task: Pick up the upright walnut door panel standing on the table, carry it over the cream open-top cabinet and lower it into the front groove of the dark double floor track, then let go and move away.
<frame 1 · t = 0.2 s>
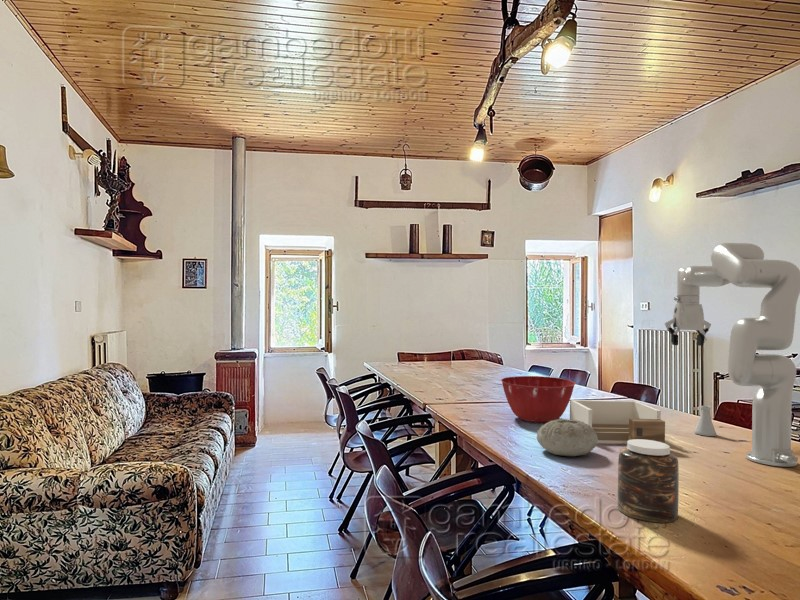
hand: (687, 345, 204), 31 cm above the table, tool pointing down, fingers open, 9 cm apart
door: (646, 448, 171), on the table
decorative shell: (566, 453, 164), on the table
mixing bowl: (536, 420, 212), on the table
cabinet: (612, 436, 185), on the table
jar: (647, 513, 117), on the table
flask: (705, 435, 192), on the table
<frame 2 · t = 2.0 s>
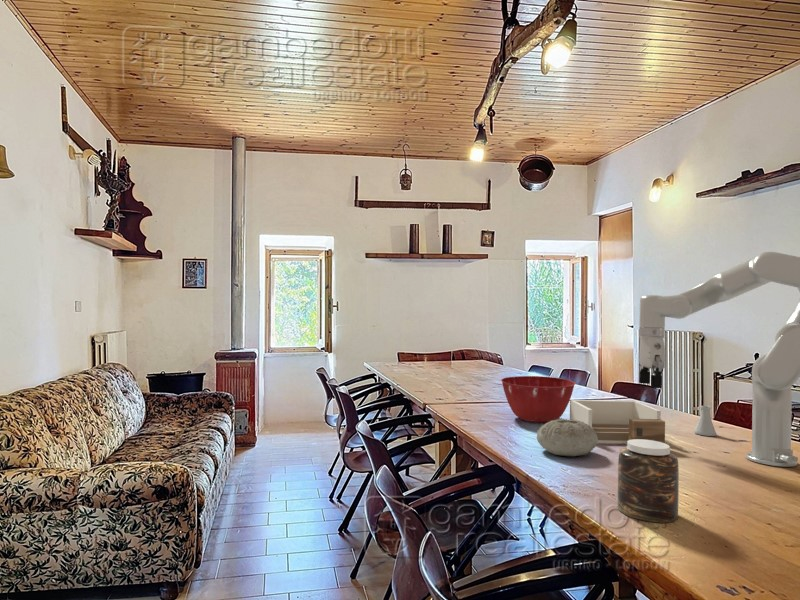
hand: (650, 385, 174), 20 cm above the table, tool pointing down, fingers open, 9 cm apart
nothing on the table moved.
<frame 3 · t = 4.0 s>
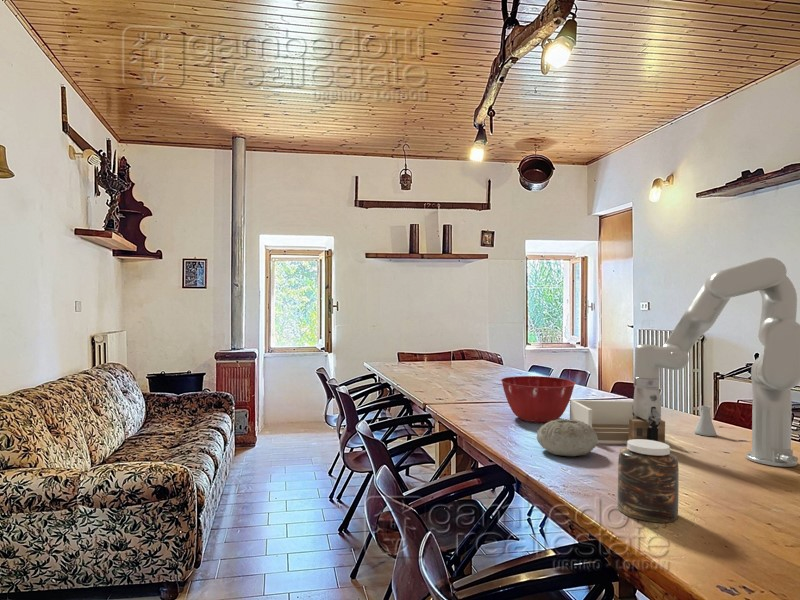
hand: (645, 436, 172), 3 cm above the table, tool pointing down, fingers open, 8 cm apart
nothing on the table moved.
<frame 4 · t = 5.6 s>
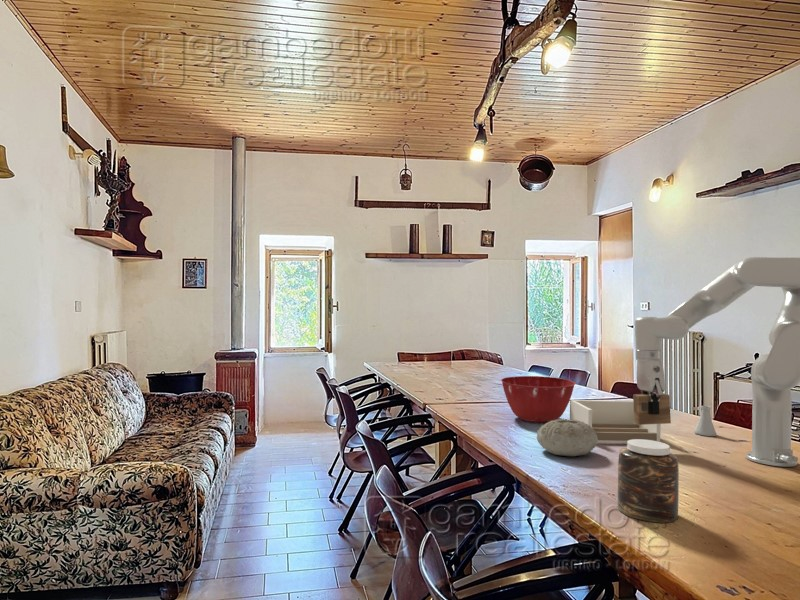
hand: (650, 412, 171), 11 cm above the table, tool pointing down, fingers closed on door, 3 cm apart
door: (652, 422, 171), point 8 cm above the table, touching gripper
everything else where it was.
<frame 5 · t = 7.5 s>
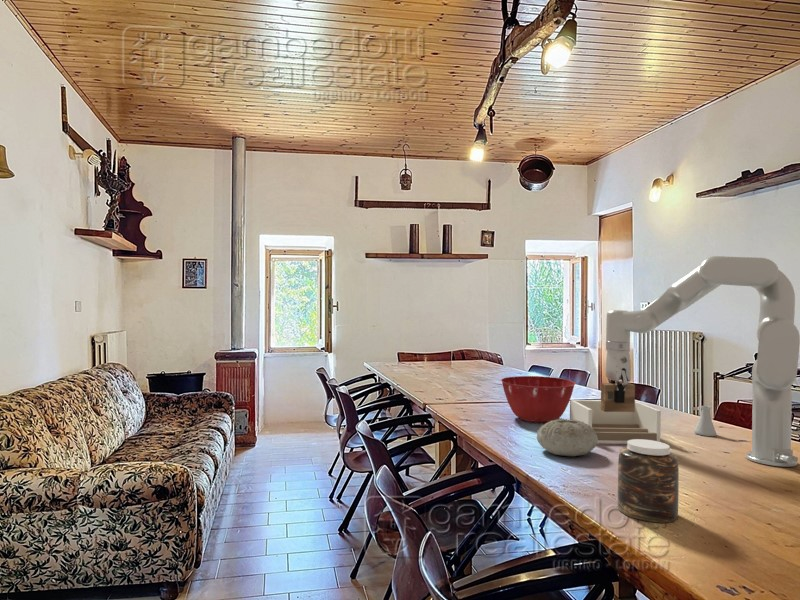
hand: (616, 400, 180), 13 cm above the table, tool pointing down, fingers closed on door, 3 cm apart
door: (617, 410, 180), point 10 cm above the table, touching gripper
everything else where it was.
when the fingers open (5 cm above the table, at t = 9.6 s): door stays where it is, resting on cabinet.
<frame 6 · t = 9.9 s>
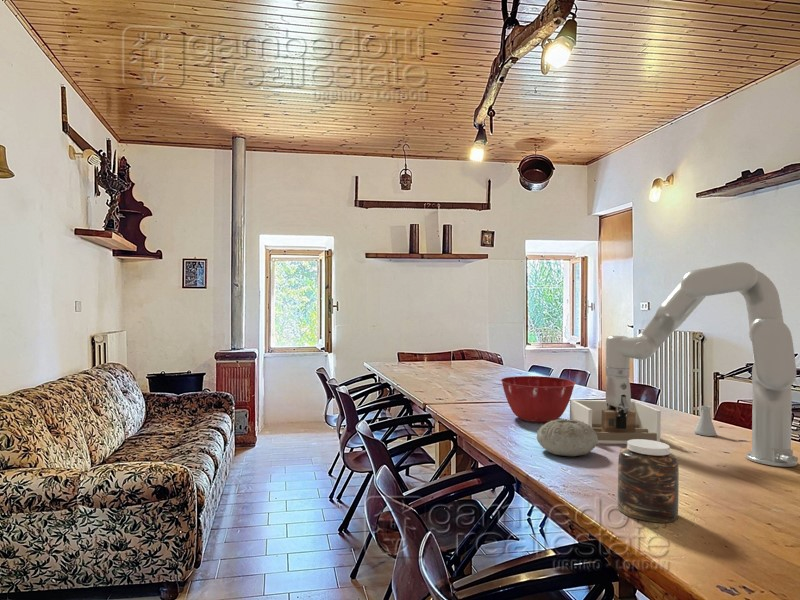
hand: (616, 425, 180), 5 cm above the table, tool pointing down, fingers open, 6 cm apart
door: (618, 437, 180), point 1 cm above the table, touching cabinet
everything else where it was.
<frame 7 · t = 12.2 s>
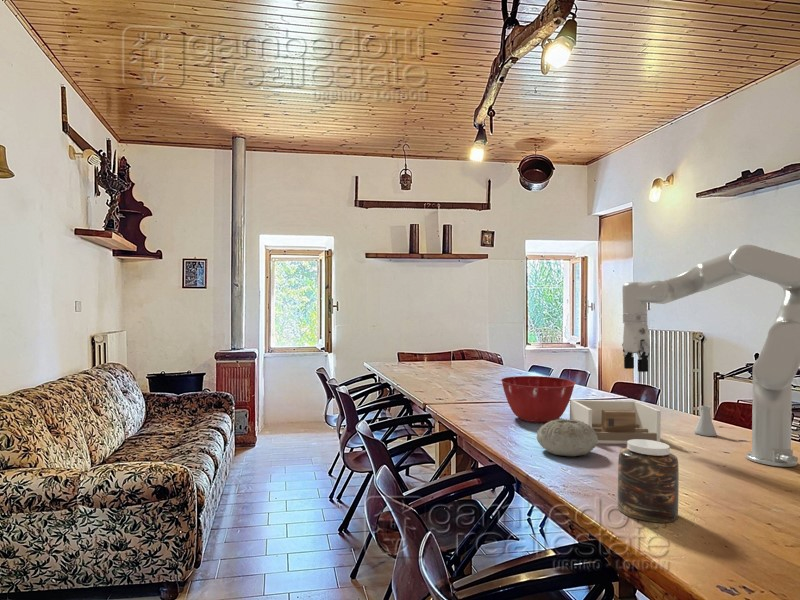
hand: (635, 370, 180), 24 cm above the table, tool pointing down, fingers open, 9 cm apart
nothing on the table moved.
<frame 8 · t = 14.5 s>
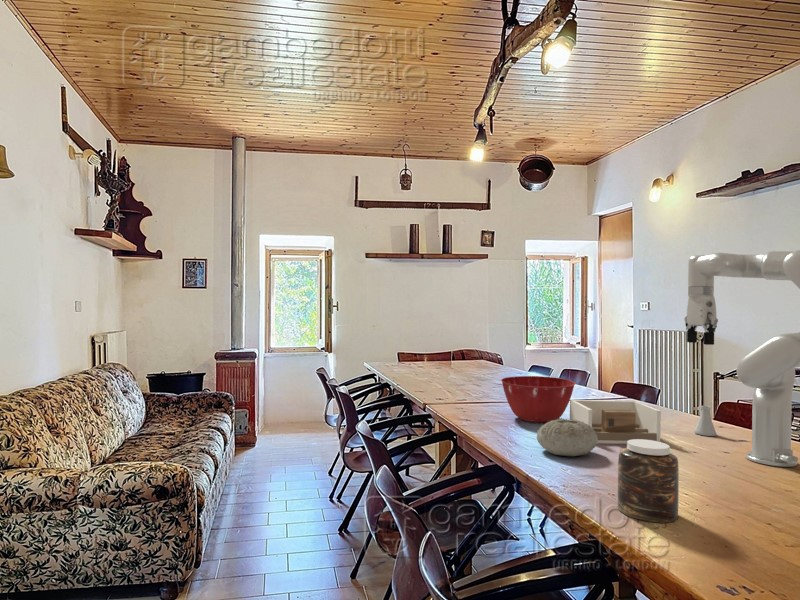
hand: (700, 343, 179), 33 cm above the table, tool pointing down, fingers open, 9 cm apart
nothing on the table moved.
at the end: door inside the target area on the cabinet (0.5 cm from its centre), point 1.0 cm above the cabinet's base; door tilted 0°; the gripper is holding nothing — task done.
